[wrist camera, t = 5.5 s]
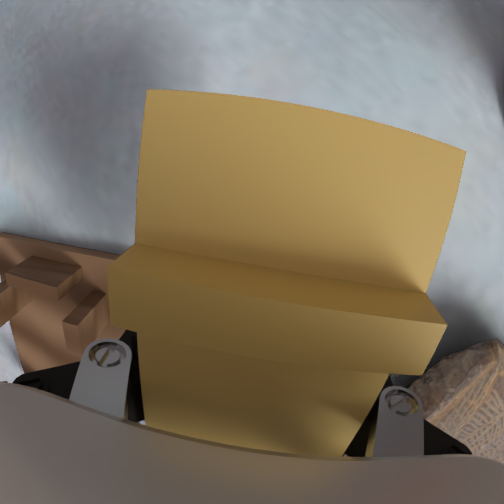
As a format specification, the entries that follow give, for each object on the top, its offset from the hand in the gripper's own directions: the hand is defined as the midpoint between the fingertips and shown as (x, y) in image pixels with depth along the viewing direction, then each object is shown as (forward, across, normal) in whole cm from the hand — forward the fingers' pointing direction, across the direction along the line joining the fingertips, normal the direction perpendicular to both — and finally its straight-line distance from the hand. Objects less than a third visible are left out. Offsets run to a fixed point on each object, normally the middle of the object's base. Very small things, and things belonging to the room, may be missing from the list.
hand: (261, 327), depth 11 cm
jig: (+9, +15, +13) cm, 22 cm away
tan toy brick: (+1, 0, 0) cm, 1 cm away
